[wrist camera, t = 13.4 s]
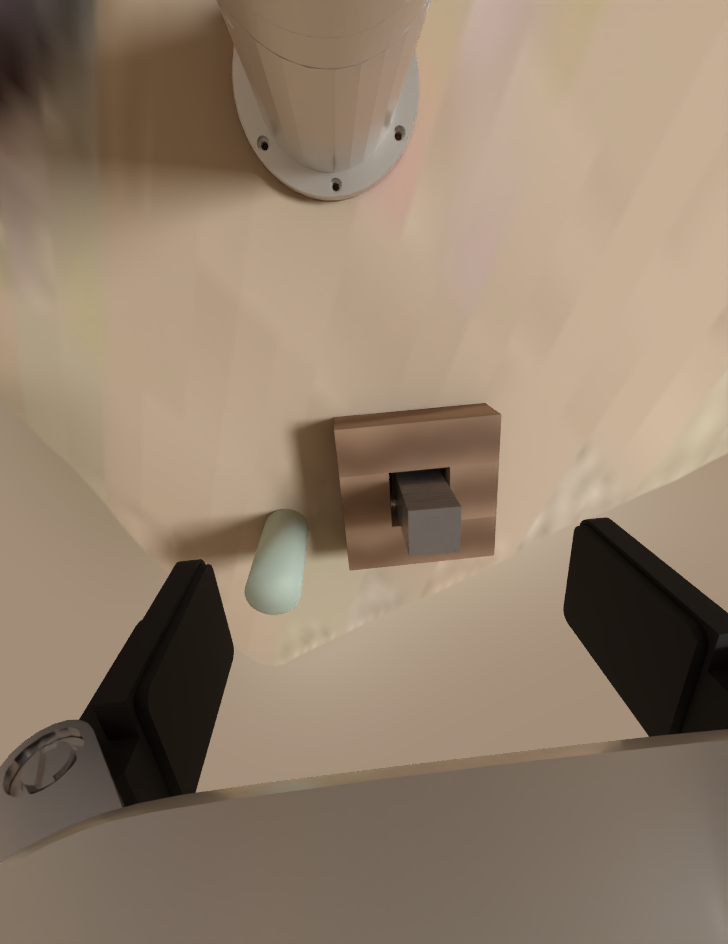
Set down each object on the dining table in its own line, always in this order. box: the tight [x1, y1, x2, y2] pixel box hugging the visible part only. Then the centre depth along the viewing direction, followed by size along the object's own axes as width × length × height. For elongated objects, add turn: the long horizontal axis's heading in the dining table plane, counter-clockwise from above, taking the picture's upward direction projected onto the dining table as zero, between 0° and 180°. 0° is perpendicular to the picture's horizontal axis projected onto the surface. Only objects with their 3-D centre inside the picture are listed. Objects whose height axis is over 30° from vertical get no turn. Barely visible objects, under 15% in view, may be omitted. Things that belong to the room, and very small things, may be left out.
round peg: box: [245, 509, 308, 615], centre depth 37 cm, size 4×4×10 cm
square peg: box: [392, 468, 461, 556], centre depth 36 cm, size 4×4×10 cm
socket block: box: [334, 403, 501, 570], centre depth 39 cm, size 14×14×4 cm
